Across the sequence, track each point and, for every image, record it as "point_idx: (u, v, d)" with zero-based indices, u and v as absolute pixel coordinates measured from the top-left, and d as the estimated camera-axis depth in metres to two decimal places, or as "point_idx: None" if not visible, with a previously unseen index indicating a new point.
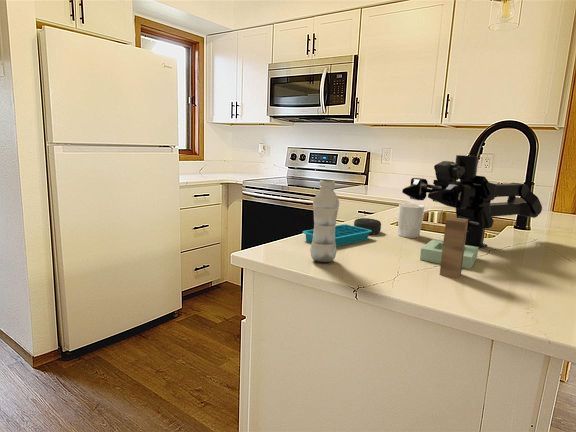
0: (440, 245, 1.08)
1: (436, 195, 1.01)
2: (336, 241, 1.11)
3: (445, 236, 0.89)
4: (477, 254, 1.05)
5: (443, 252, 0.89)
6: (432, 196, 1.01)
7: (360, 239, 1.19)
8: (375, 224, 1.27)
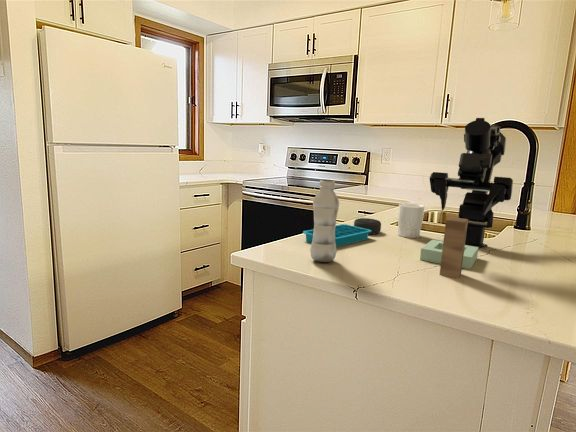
0: (440, 245, 1.08)
1: (488, 206, 0.93)
2: (337, 241, 1.11)
3: (445, 236, 0.89)
4: (477, 254, 1.05)
5: (443, 252, 0.89)
6: (486, 211, 0.93)
7: (360, 239, 1.19)
8: (375, 224, 1.27)
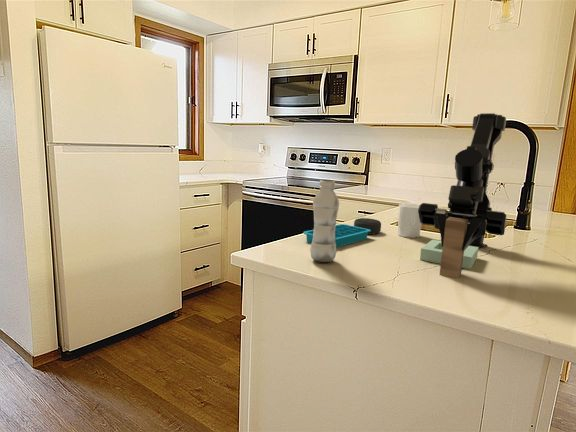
0: (440, 245, 1.08)
1: (468, 241, 0.88)
2: (338, 241, 1.11)
3: (445, 236, 0.89)
4: (477, 254, 1.05)
5: (443, 252, 0.89)
6: (466, 246, 0.88)
7: (360, 239, 1.19)
8: (375, 224, 1.27)
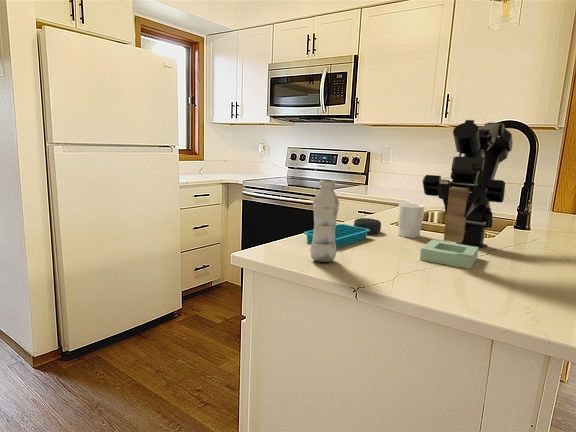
0: (440, 245, 1.08)
1: (470, 208, 0.95)
2: (339, 241, 1.11)
3: (449, 204, 0.95)
4: (477, 254, 1.05)
5: (447, 219, 0.96)
6: (468, 213, 0.95)
7: (360, 238, 1.19)
8: (375, 224, 1.27)
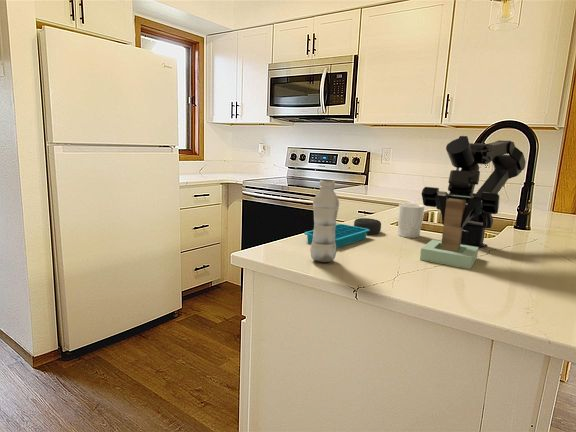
0: (440, 245, 1.08)
1: (466, 219, 1.00)
2: (340, 241, 1.11)
3: (446, 214, 1.01)
4: (477, 254, 1.05)
5: (444, 229, 1.01)
6: (464, 224, 1.00)
7: (360, 238, 1.20)
8: (375, 224, 1.27)
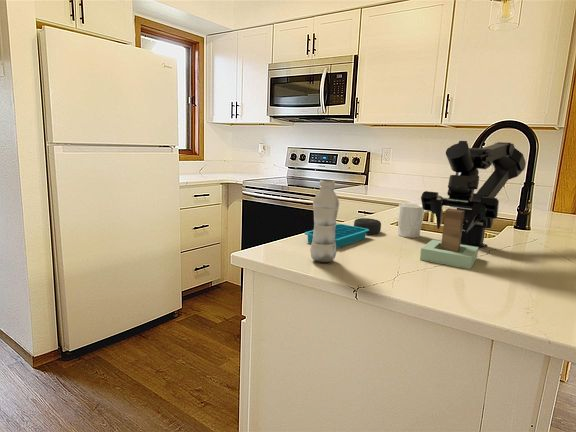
0: (440, 245, 1.08)
1: (470, 225, 1.00)
2: (341, 241, 1.11)
3: (445, 224, 1.01)
4: (477, 254, 1.05)
5: (443, 239, 1.02)
6: (468, 229, 0.99)
7: (359, 238, 1.20)
8: (375, 224, 1.27)
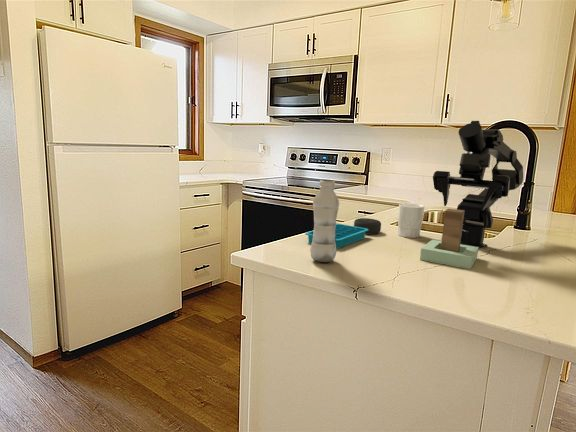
0: (440, 245, 1.08)
1: (486, 202, 1.01)
2: (342, 241, 1.11)
3: (444, 225, 1.01)
4: (477, 254, 1.05)
5: (442, 239, 1.02)
6: (485, 206, 1.01)
7: (359, 238, 1.20)
8: (375, 224, 1.27)
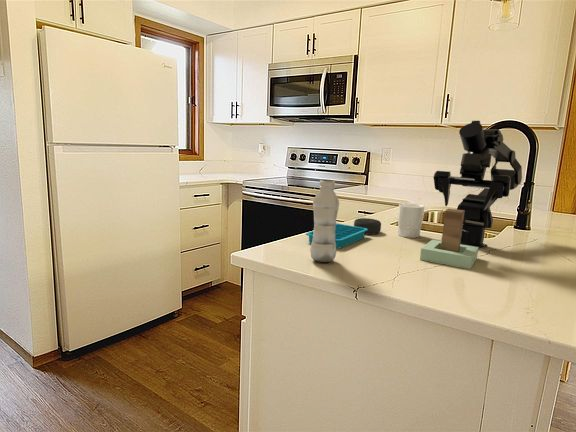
0: (440, 245, 1.08)
1: (488, 202, 1.01)
2: (343, 241, 1.11)
3: (444, 225, 1.01)
4: (477, 254, 1.05)
5: (442, 239, 1.02)
6: (486, 207, 1.01)
7: (359, 238, 1.20)
8: (375, 224, 1.27)
